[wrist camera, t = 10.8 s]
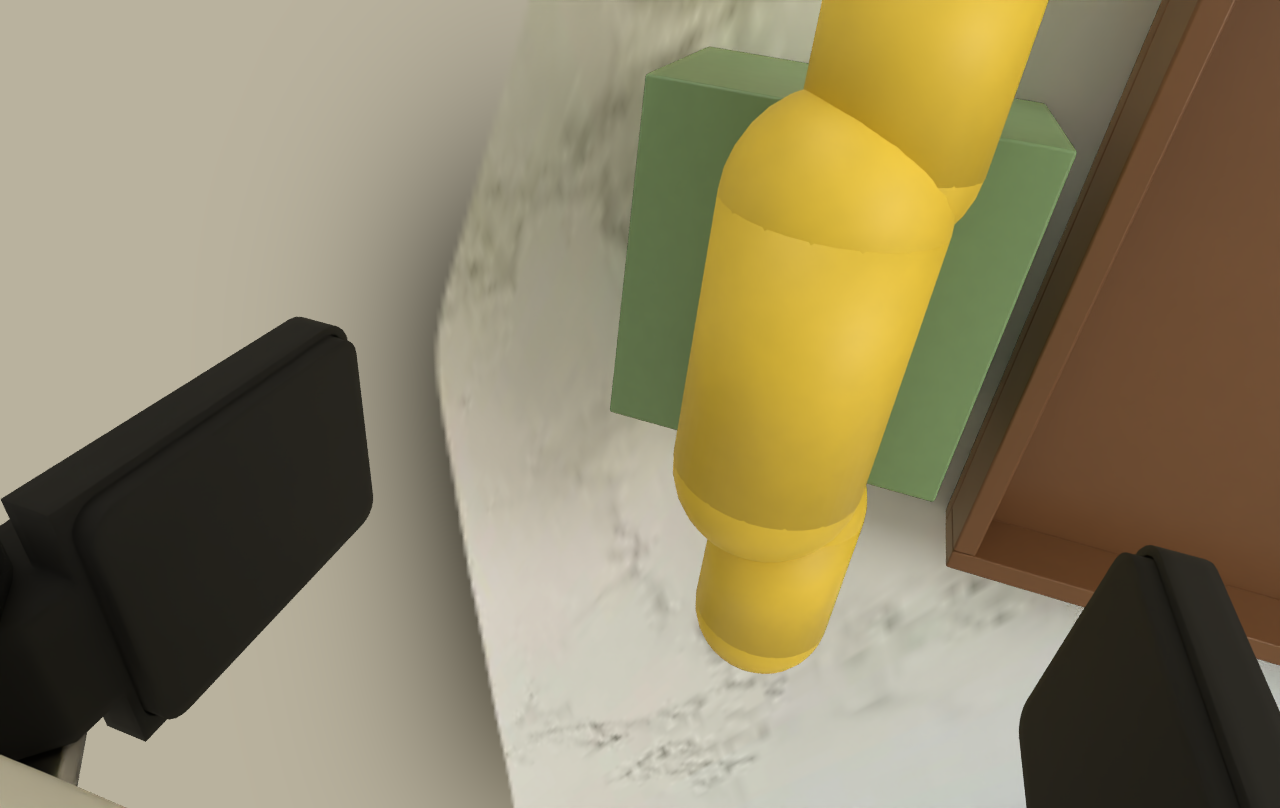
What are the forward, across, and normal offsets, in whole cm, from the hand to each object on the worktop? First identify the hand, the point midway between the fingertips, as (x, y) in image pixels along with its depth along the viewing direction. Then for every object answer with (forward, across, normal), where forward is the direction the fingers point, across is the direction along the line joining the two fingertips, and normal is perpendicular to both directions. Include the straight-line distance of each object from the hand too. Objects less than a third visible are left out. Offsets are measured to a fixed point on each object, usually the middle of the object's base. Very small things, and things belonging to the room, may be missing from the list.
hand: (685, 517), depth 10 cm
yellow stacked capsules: (+8, 0, +1) cm, 8 cm away
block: (+13, 0, +1) cm, 13 cm away
